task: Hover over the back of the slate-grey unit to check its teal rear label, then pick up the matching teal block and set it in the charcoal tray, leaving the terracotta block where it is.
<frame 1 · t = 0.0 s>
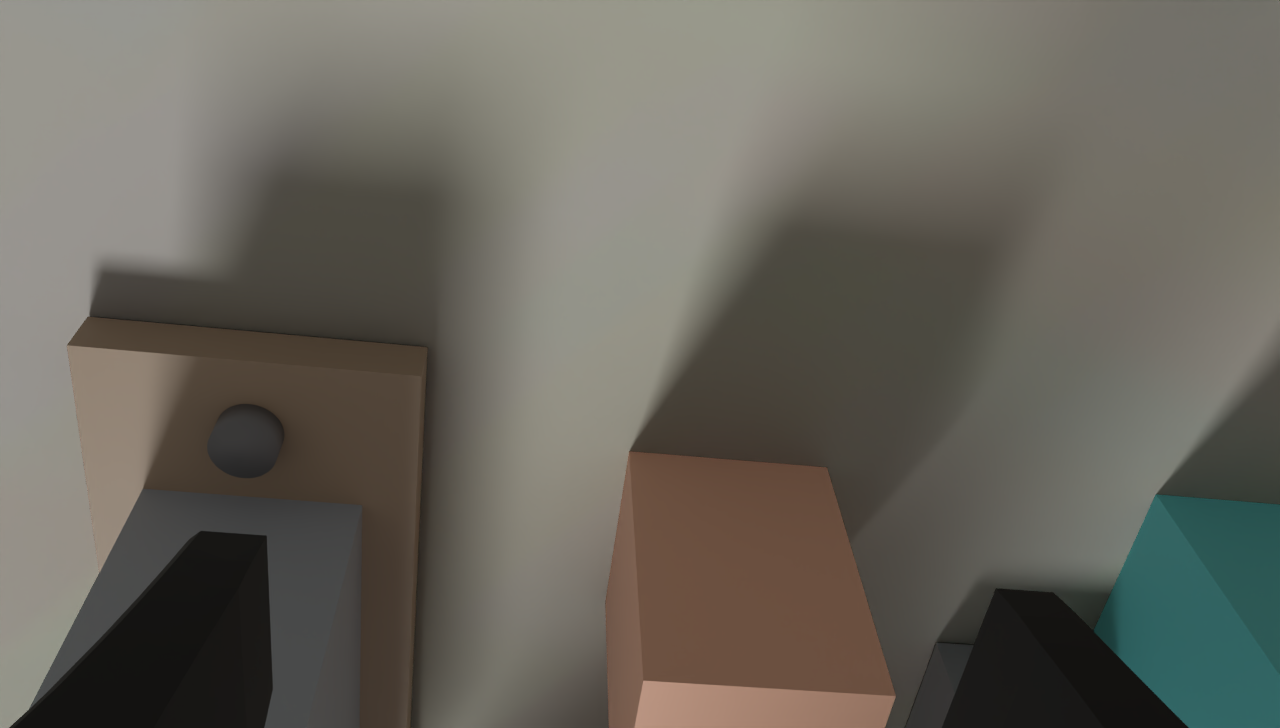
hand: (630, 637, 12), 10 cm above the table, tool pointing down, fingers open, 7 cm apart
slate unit: (274, 682, 26), on the table
teal block: (1208, 573, 25), on the table
terracotta block: (712, 536, 24), on the table
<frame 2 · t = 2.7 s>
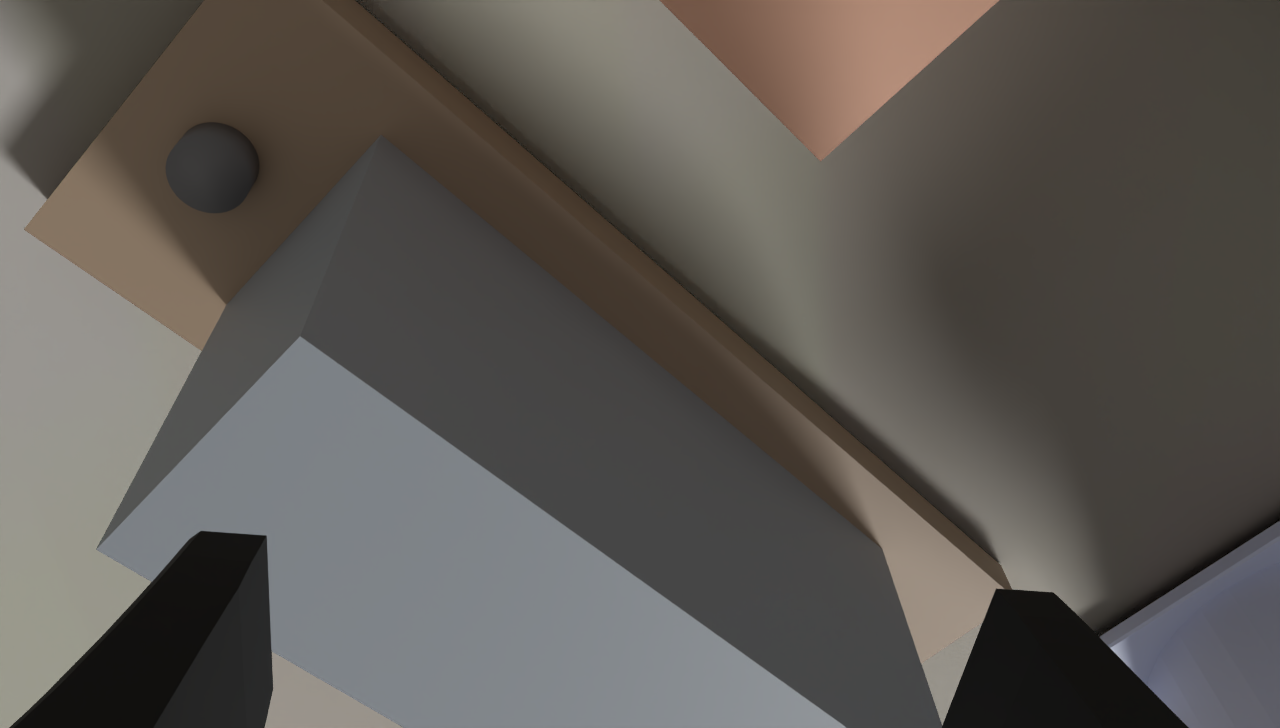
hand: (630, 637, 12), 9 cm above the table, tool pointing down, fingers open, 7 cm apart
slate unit: (581, 405, 21), on the table
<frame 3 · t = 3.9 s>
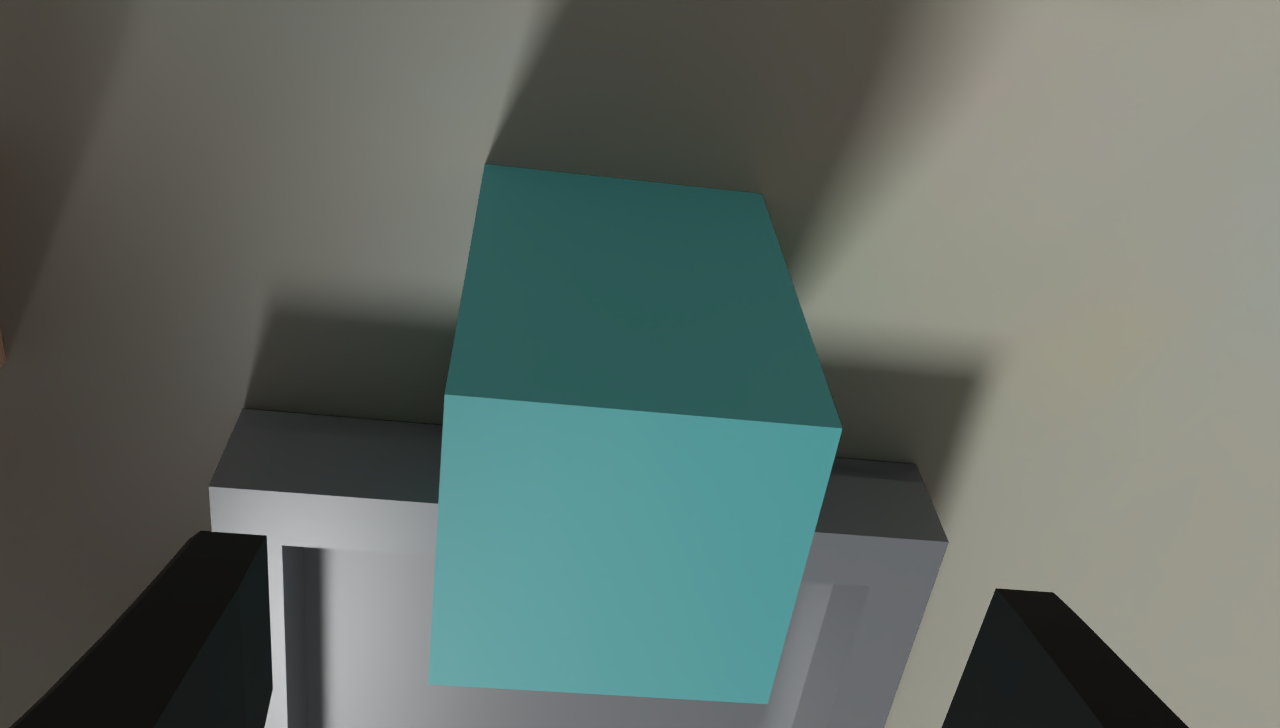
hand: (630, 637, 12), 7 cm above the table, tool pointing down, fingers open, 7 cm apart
charcoal tray: (557, 677, 22), on the table
teal block: (608, 300, 18), on the table
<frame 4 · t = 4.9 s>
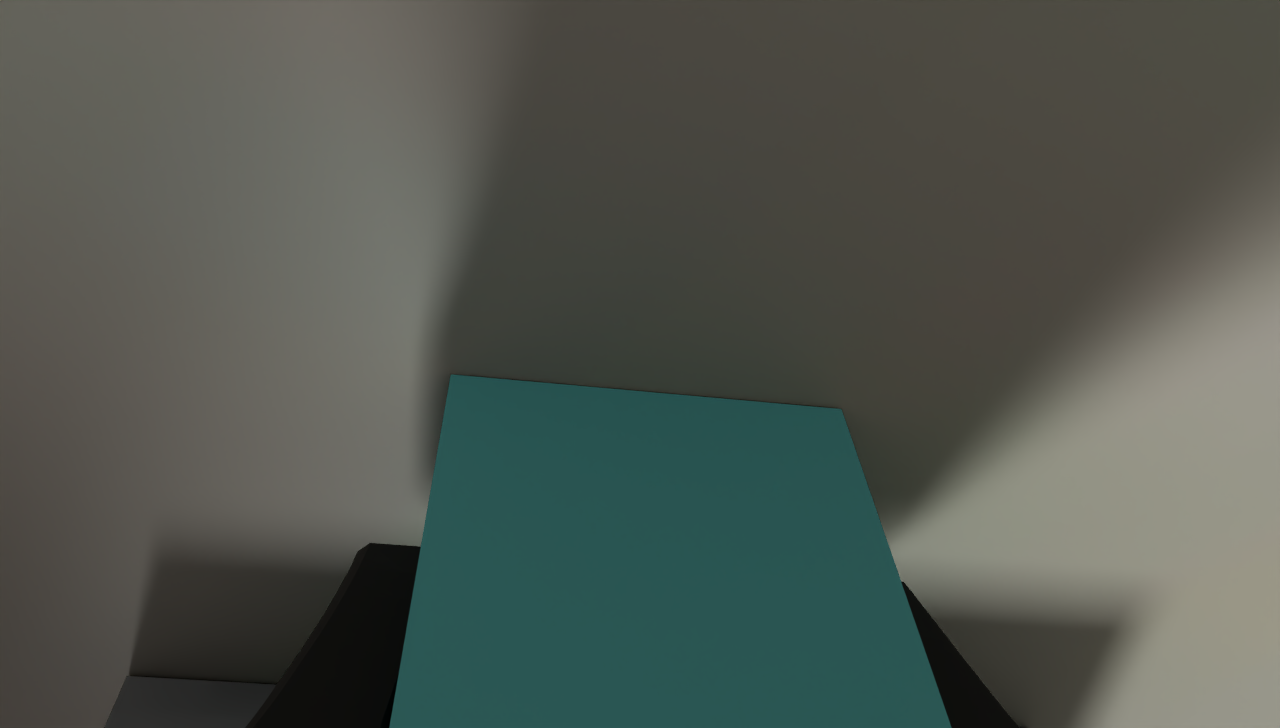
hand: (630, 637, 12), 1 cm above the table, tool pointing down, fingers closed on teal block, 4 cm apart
teal block: (624, 543, 13), on the table, touching gripper
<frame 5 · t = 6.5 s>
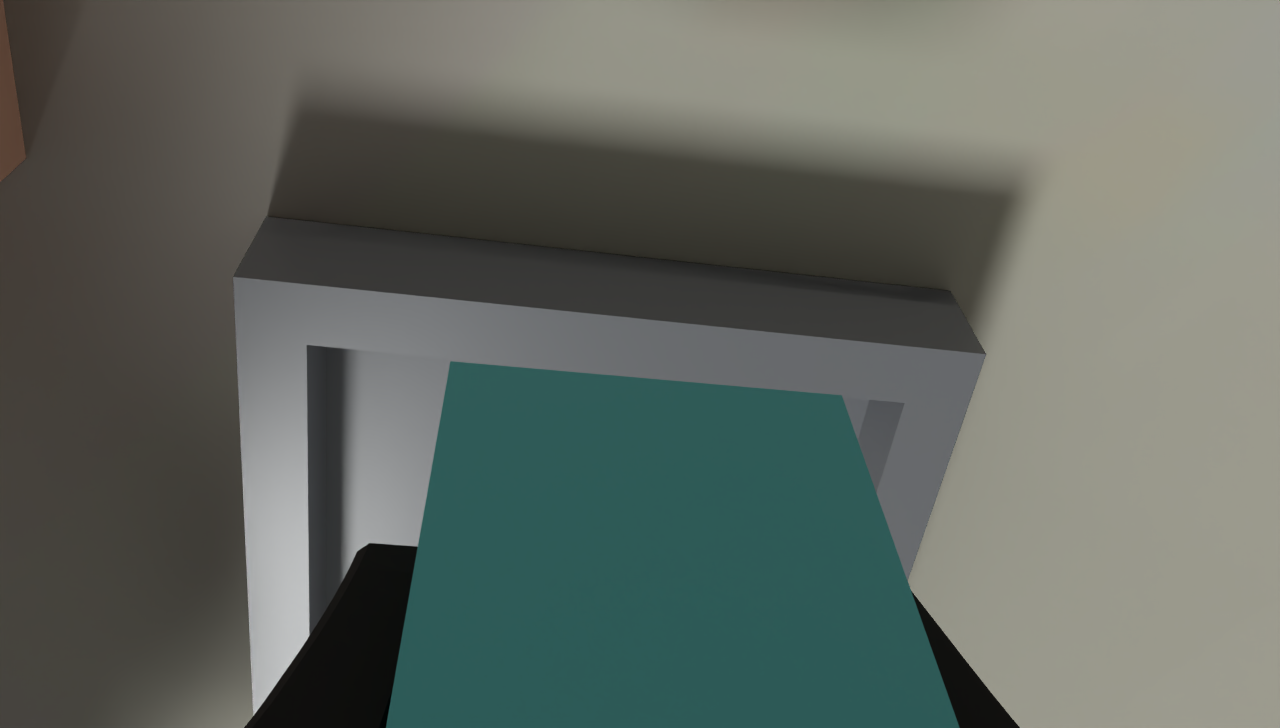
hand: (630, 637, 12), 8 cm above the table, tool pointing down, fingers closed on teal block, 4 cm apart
charcoal tray: (580, 521, 21), on the table
teal block: (625, 531, 13), point 7 cm above the table, touching gripper
when the fingers open (3 cm above the table, at t = 8.2 s): teal block drops 1 cm, resting on charcoal tray.
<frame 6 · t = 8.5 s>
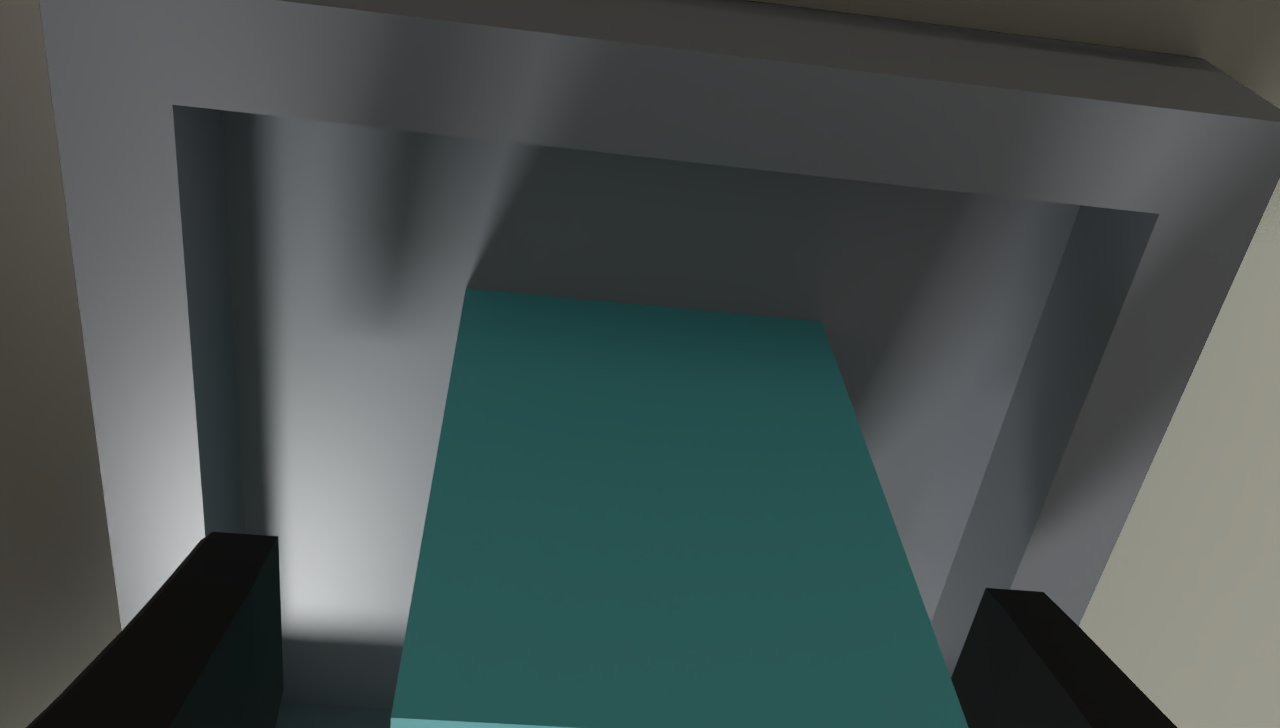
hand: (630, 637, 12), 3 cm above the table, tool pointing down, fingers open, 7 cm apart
charcoal tray: (619, 439, 15), on the table
teal block: (624, 450, 14), resting on charcoal tray
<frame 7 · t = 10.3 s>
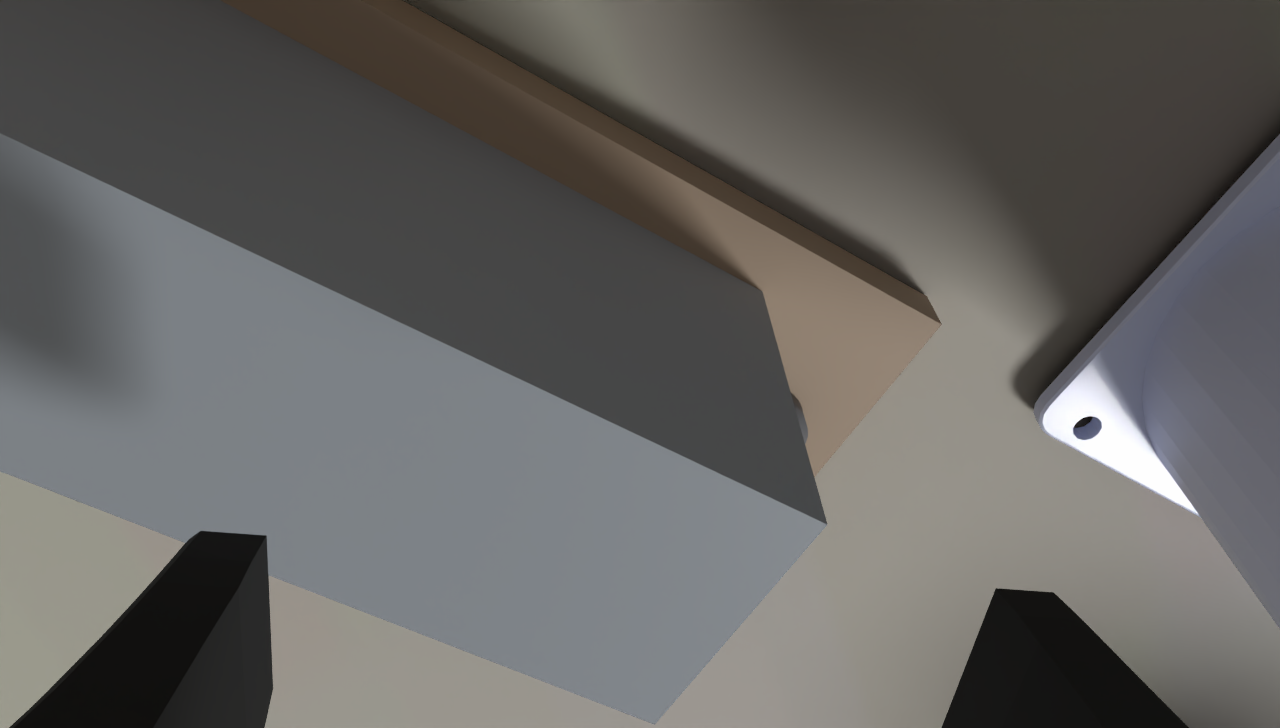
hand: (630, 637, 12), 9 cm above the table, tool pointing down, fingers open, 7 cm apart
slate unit: (385, 194, 19), on the table
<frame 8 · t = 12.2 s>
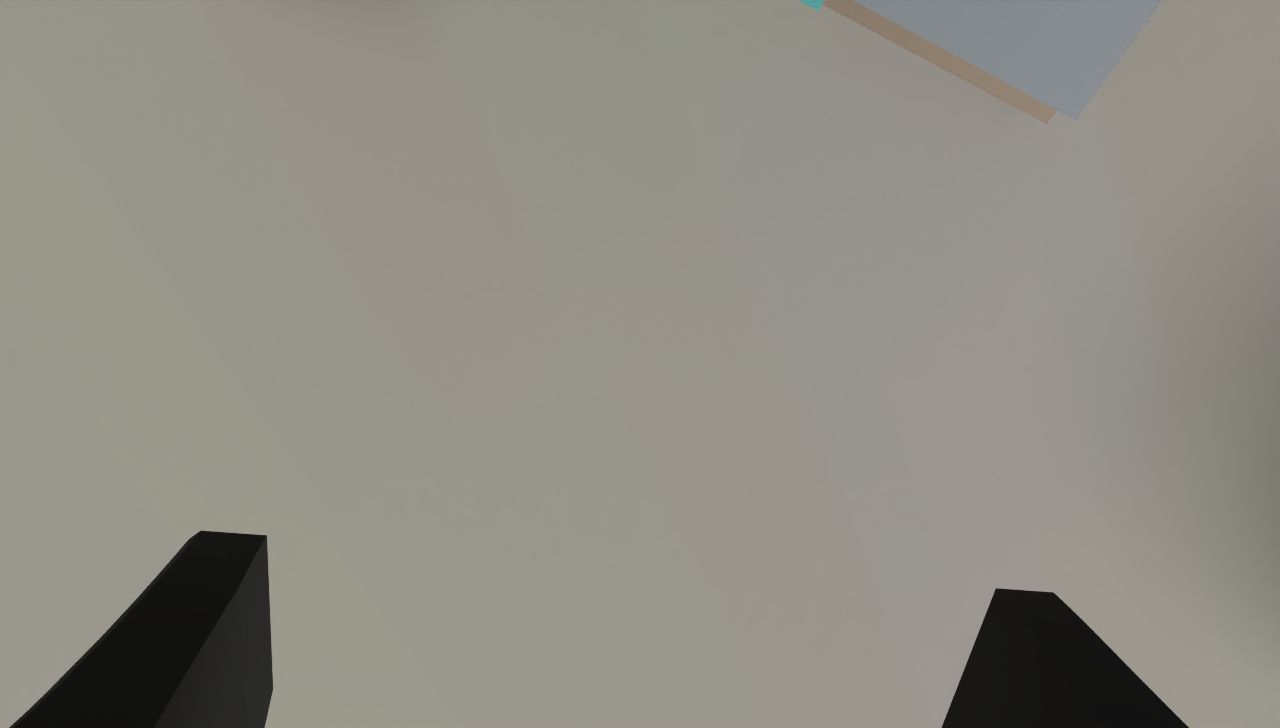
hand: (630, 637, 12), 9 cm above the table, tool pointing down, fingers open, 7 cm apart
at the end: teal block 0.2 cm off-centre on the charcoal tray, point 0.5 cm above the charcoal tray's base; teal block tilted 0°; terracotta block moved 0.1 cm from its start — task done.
